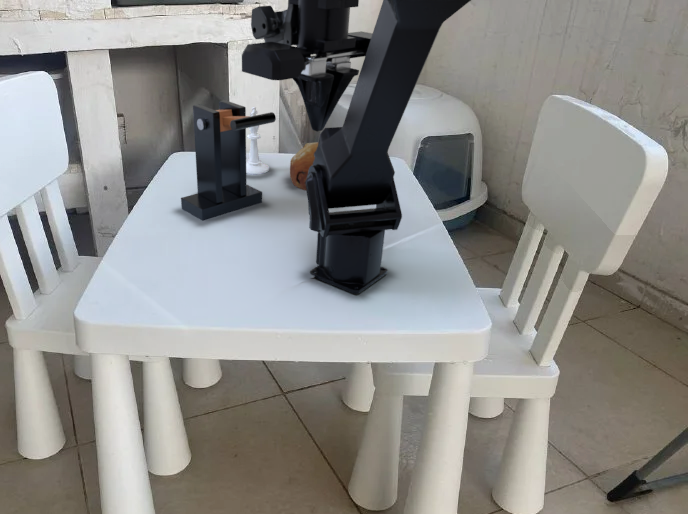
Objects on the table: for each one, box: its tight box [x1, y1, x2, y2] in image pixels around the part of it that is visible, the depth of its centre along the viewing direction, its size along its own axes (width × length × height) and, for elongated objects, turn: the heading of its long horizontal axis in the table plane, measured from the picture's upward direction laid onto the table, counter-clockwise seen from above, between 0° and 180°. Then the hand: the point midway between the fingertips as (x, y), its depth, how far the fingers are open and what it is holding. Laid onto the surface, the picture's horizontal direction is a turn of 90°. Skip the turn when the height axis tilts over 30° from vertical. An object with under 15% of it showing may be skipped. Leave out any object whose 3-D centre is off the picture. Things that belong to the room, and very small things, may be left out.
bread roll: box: [289, 141, 319, 191], centre depth 92 cm, size 10×10×8 cm
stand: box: [180, 99, 263, 222], centre depth 80 cm, size 5×10×14 cm, turn 131°
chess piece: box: [246, 106, 270, 175], centre depth 94 cm, size 5×5×10 cm
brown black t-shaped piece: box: [215, 109, 277, 132], centre depth 75 cm, size 9×6×2 cm, turn 41°
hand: (317, 130), depth 73 cm, fingers closed
